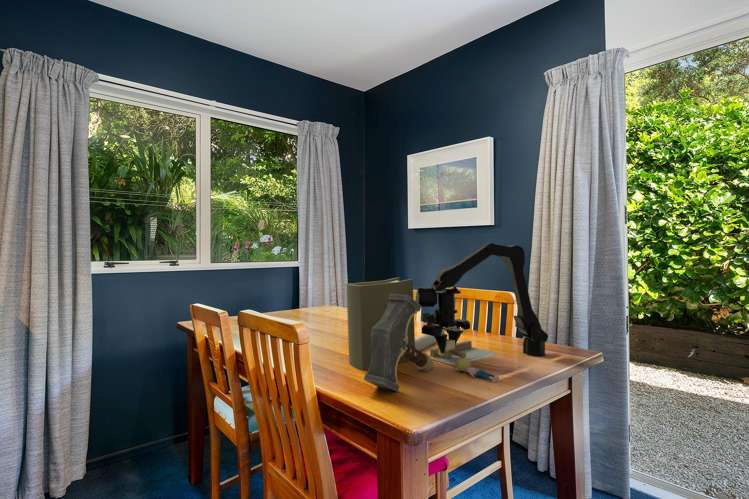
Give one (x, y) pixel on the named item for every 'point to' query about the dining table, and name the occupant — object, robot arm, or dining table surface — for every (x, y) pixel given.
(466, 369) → the figurine
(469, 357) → the board
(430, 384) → the dining table surface
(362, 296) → the book
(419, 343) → the tube
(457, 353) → the wooden block with peg
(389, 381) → the hammer
